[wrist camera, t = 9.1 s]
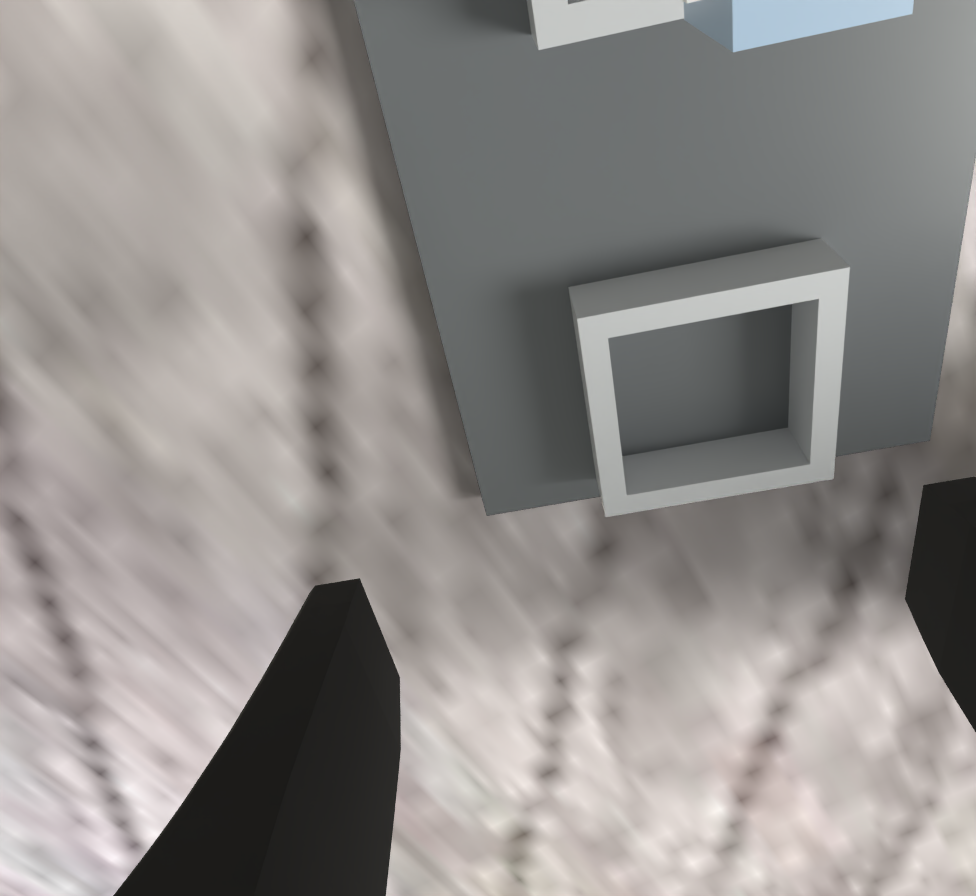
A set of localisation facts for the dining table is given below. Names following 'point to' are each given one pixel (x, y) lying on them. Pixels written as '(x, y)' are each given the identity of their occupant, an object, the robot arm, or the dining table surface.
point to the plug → (784, 18)
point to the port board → (678, 237)
